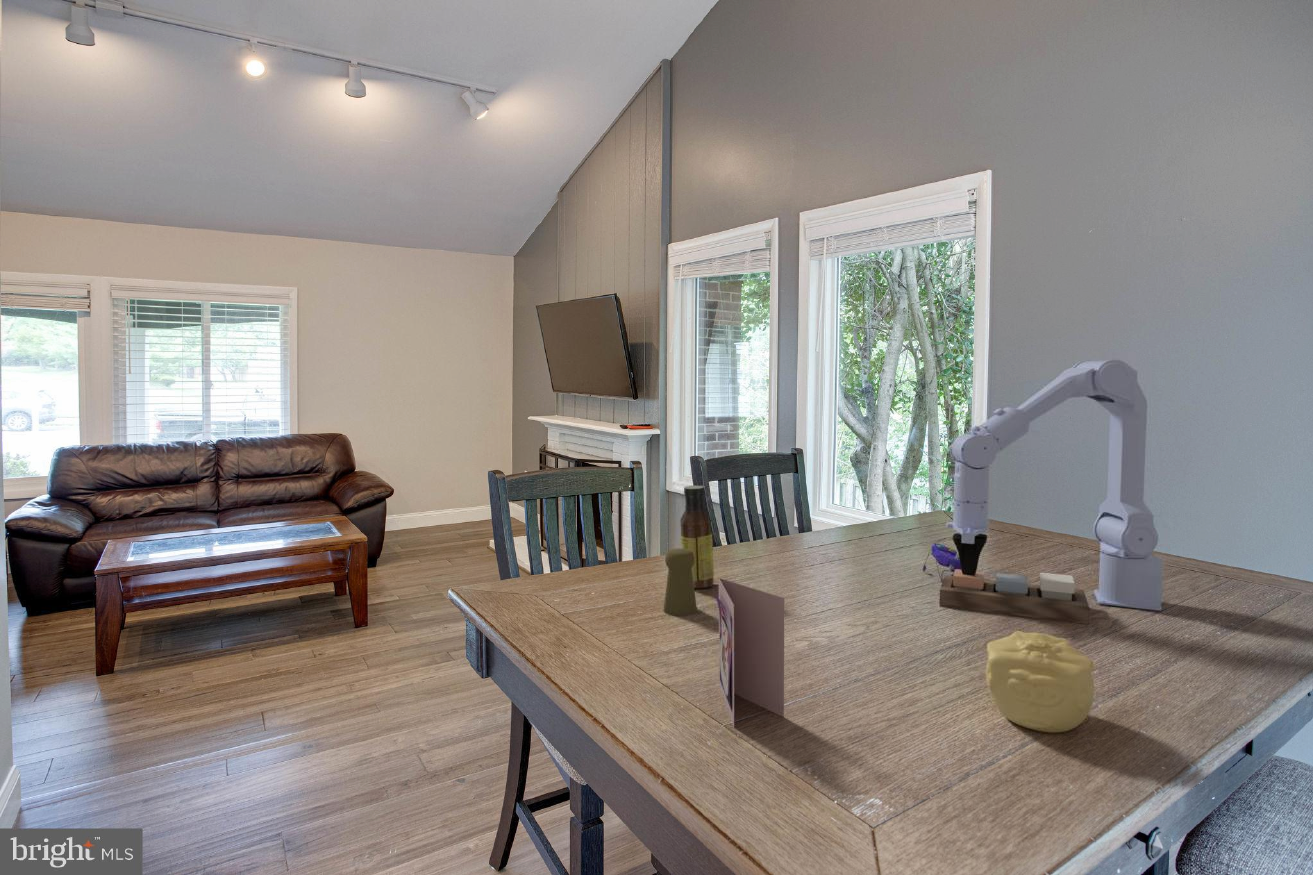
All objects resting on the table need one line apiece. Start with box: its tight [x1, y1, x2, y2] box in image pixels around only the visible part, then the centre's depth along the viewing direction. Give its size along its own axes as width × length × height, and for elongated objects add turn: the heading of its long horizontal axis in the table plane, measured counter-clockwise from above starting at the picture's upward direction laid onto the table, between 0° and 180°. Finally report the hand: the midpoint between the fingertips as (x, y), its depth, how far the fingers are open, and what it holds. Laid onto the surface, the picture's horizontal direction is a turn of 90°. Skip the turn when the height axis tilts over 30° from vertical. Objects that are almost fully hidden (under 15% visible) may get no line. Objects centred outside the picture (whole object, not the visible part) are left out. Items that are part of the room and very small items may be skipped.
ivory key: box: [1039, 572, 1075, 601], centre depth 126 cm, size 5×5×3 cm
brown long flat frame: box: [938, 575, 1090, 625], centre depth 129 cm, size 23×10×3 cm, turn 64°
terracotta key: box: [952, 569, 985, 591], centre depth 132 cm, size 5×5×3 cm
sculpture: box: [985, 630, 1095, 734], centre depth 87 cm, size 11×12×11 cm
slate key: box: [995, 572, 1029, 596], centre depth 129 cm, size 5×5×3 cm
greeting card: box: [713, 577, 785, 728], centre depth 92 cm, size 11×7×15 cm, turn 4°
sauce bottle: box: [680, 484, 715, 590], centre depth 143 cm, size 7×6×20 cm
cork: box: [663, 547, 698, 617], centre depth 129 cm, size 6×6×11 cm
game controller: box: [922, 538, 961, 582], centre depth 150 cm, size 10×8×10 cm
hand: (968, 574), depth 132 cm, fingers closed, pressing on terracotta key
